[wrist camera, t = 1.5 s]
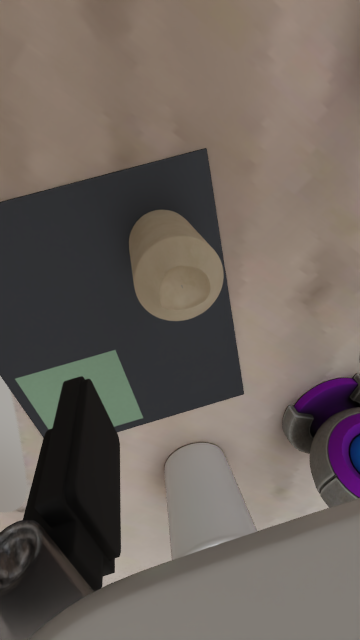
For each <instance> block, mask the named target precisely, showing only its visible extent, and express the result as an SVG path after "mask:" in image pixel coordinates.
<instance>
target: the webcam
mask: <svg viewBox="0 0 360 640" xmlns="http://www.w3.org/2000/svg"><path fill="white" fill-rule="evenodd" d="M282 425H283V431H284V433H285V435H286V437H287V439H288V440H289V442H290V443H291V444H292V445H293V446H294V447H295V448H296V449H298V450H300V451H302V452H305V453H310V468H311V473H312V476H313V479H314V482H315V485H316V488H317V490H318V492H319V493H320V495H321V497H322V499H323V500H324V501H325V503H326V504H327V505H328V506H329V508H330V507H333V506H337V505H340V504H343V503H346V502H349V501H352V500H355V499H358V498H360V375H359V374H356V375H355V376H354V377H353V379H352V378H339V379H334V380H330V381H327V382H324V383H322V384H320V385H318V386H316V387H314V388H313V389H311V390H310V391H308V392H307V393H306V394H305V395H303V396H302V397H301V398H300V399H299V400H298V402H297V403H296V404H295V405H294V407H293V406H288V408H287V410H286V412H285V414H284V417H283V424H282Z"/></svg>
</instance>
